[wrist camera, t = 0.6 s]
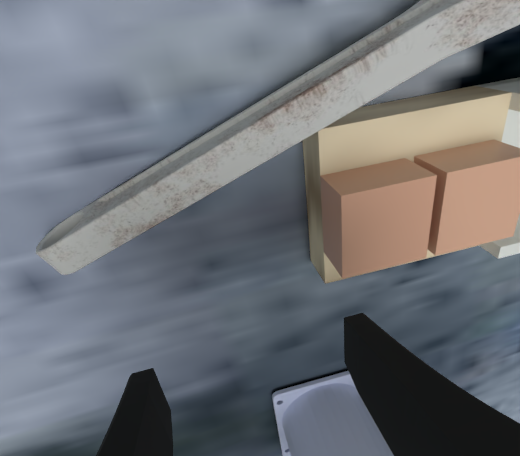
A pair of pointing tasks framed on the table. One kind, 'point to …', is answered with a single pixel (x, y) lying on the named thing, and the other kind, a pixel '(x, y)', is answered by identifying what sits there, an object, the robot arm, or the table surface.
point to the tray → (516, 134)
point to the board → (396, 143)
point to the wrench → (276, 124)
